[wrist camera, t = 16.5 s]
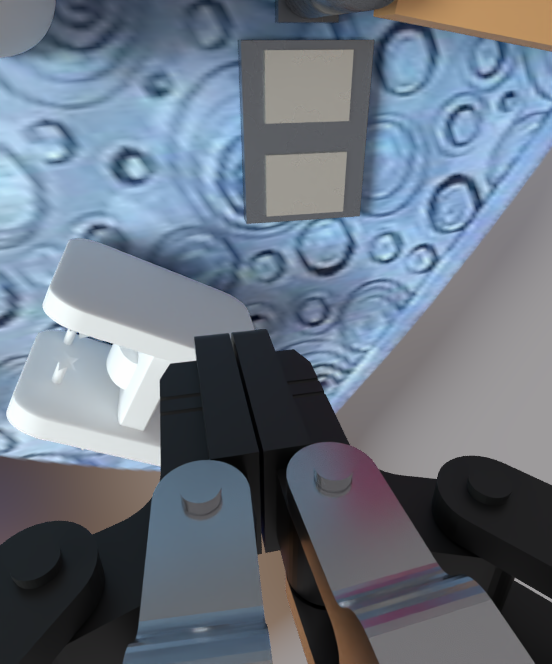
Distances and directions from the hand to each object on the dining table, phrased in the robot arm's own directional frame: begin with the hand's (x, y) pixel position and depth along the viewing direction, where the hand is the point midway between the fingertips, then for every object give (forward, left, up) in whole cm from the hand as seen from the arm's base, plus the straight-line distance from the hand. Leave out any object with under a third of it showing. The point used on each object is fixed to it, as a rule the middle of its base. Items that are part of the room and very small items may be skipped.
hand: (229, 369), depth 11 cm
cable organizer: (+14, -4, -29) cm, 33 cm away
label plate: (0, +9, -29) cm, 30 cm away
